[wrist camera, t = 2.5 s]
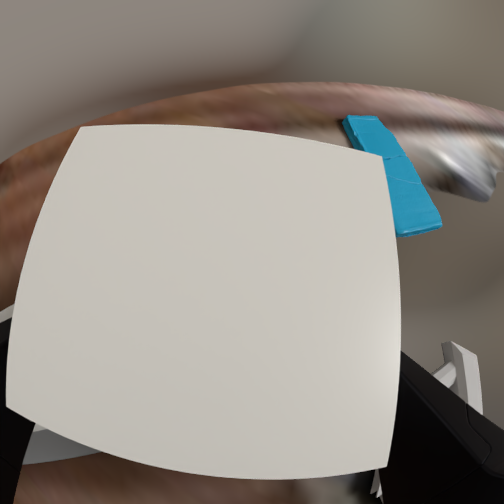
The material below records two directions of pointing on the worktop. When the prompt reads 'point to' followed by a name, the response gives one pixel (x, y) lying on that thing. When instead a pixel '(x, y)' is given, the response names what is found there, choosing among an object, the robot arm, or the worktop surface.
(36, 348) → the block
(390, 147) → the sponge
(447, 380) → the gun
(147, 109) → the worktop surface
